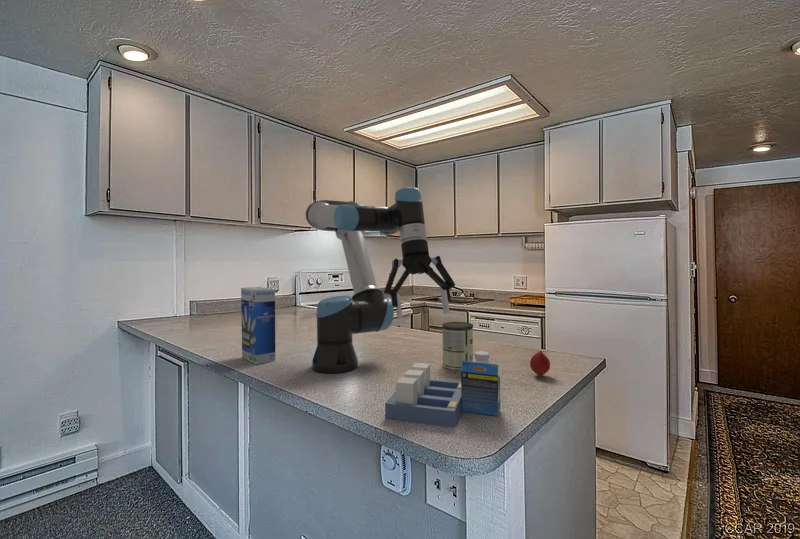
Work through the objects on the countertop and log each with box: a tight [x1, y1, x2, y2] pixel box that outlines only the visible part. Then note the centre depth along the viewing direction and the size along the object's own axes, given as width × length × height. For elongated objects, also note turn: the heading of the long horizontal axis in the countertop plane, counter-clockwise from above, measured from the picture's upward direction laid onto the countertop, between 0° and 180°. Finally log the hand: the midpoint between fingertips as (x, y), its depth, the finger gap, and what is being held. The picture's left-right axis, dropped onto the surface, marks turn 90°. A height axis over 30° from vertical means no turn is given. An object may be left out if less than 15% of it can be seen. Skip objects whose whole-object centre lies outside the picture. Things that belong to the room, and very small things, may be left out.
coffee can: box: [441, 321, 474, 371], centre depth 132 cm, size 10×10×14 cm
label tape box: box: [460, 361, 501, 417], centre depth 94 cm, size 9×4×12 cm, turn 68°
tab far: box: [411, 362, 431, 386], centre depth 105 cm, size 4×4×6 cm
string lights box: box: [240, 286, 276, 365], centre depth 142 cm, size 13×8×26 cm, turn 43°
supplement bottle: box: [473, 350, 493, 371], centre depth 111 cm, size 5×5×10 cm
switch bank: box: [384, 378, 462, 428], centre depth 97 cm, size 16×20×4 cm
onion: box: [529, 350, 551, 377], centre depth 121 cm, size 6×6×8 cm
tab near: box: [395, 376, 418, 405], centre depth 92 cm, size 4×4×6 cm
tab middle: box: [403, 369, 424, 395], centre depth 98 cm, size 4×4×6 cm
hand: (423, 316), depth 108 cm, fingers open, 13 cm apart
